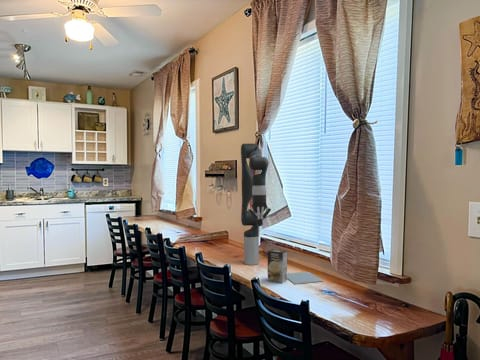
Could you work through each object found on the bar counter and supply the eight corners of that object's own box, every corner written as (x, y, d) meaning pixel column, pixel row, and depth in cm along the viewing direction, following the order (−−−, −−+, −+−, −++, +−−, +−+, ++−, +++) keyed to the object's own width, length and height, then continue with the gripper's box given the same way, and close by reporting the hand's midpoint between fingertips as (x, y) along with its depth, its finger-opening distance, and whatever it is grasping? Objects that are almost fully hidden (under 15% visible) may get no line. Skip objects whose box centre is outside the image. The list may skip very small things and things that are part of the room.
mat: (281, 274, 203) (281, 274, 203) (307, 272, 207) (307, 271, 207) (294, 284, 186) (294, 283, 186) (323, 281, 190) (323, 280, 190)
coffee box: (266, 280, 193) (266, 250, 192) (272, 277, 198) (271, 248, 198) (282, 283, 188) (282, 252, 188) (287, 280, 194) (287, 250, 193)
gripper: (268, 193, 201) (269, 224, 201) (245, 194, 198) (246, 225, 198) (273, 193, 194) (273, 226, 194) (249, 194, 191) (250, 227, 191)
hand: (259, 226), depth 196 cm, fingers closed
